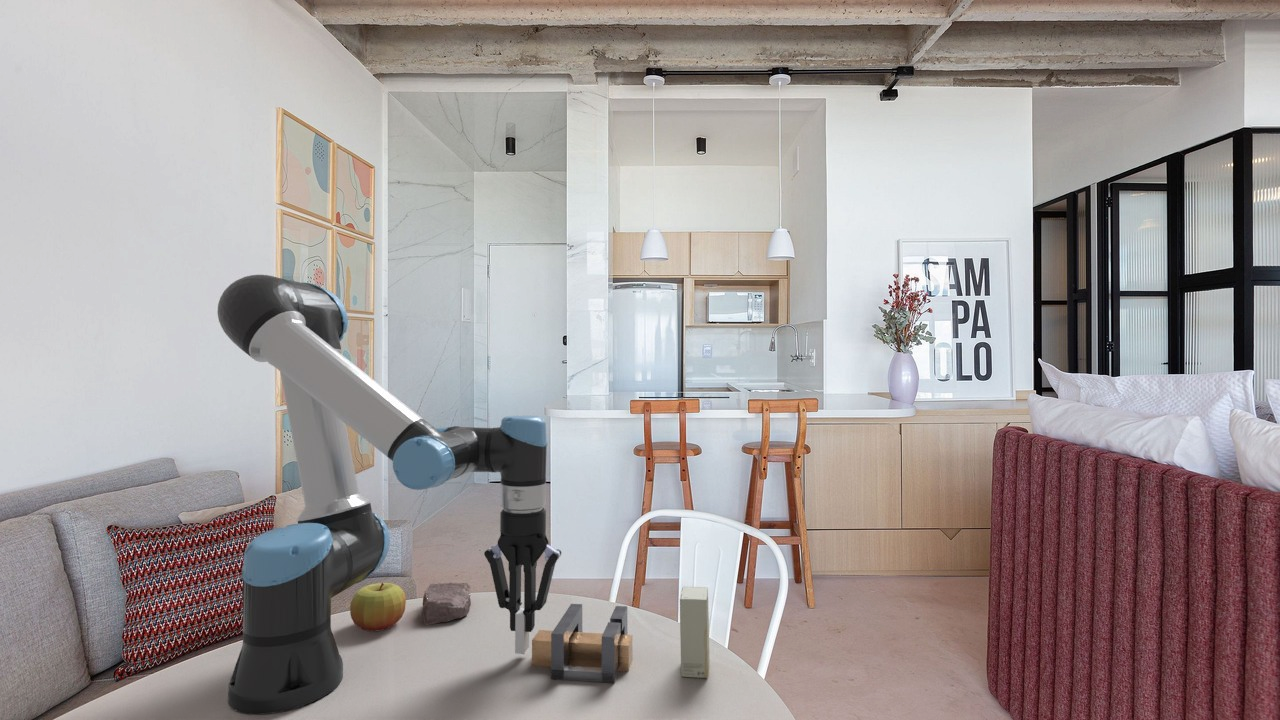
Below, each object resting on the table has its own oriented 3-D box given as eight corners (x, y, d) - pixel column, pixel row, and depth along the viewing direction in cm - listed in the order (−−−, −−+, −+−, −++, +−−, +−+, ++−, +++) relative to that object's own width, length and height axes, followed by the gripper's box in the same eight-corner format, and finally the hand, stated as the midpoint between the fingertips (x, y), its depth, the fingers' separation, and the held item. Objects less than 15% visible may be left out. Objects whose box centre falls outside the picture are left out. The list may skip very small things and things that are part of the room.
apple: (416, 618, 120) (416, 577, 120) (385, 639, 110) (385, 594, 110) (372, 614, 122) (372, 573, 122) (337, 634, 113) (338, 590, 113)
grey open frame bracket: (551, 679, 96) (551, 633, 96) (571, 643, 108) (571, 603, 108) (614, 683, 94) (614, 637, 95) (627, 647, 107) (627, 606, 107)
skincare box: (708, 679, 96) (707, 600, 96) (679, 677, 96) (679, 599, 96) (709, 660, 102) (709, 586, 102) (682, 659, 102) (682, 585, 103)
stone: (468, 622, 118) (468, 598, 118) (419, 627, 116) (419, 602, 116) (471, 600, 130) (471, 578, 130) (426, 604, 128) (426, 581, 128)
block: (531, 664, 101) (532, 640, 101) (539, 653, 105) (539, 630, 105) (628, 671, 98) (628, 645, 98) (632, 659, 102) (632, 635, 102)
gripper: (477, 511, 101) (475, 657, 100) (554, 515, 99) (553, 663, 98) (494, 502, 108) (493, 637, 108) (566, 504, 106) (565, 642, 106)
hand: (522, 649), depth 103 cm, fingers closed
